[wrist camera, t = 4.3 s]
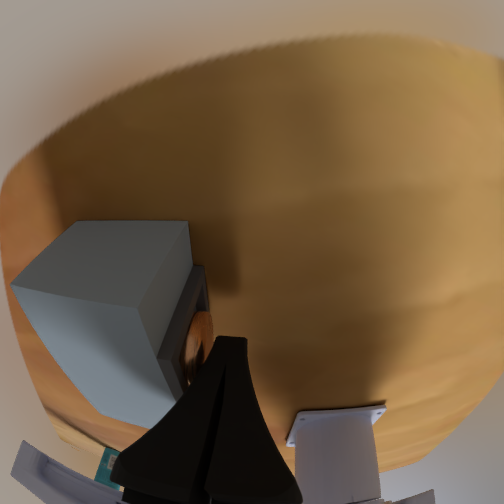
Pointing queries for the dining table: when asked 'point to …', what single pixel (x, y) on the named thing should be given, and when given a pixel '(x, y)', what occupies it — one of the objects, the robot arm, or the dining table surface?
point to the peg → (196, 345)
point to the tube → (107, 468)
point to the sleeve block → (117, 311)
